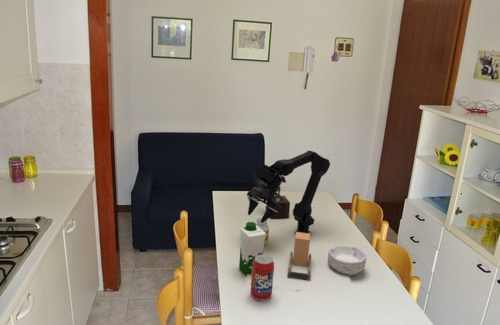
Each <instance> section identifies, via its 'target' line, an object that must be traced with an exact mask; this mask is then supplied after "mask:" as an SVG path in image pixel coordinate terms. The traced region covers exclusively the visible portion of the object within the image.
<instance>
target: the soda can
mask: <svg viewBox="0 0 500 325" xmlns="http://www.w3.org/2000/svg"><path fill="white" fill-rule="evenodd" d="M274 273H275V261H274V258H273V257H272V256H270V255H268V254H263V255H257V256H256V257H255V259H254V260H253V263H252V274H251V277H250V278H251V279H250V280H251V281H250V295H251V297H253V298H254V299H256V300H259V301H261V300H262V301H264V300H265V301H266V300H268V299H270V298H271V297H272V295H273V285H274Z"/></svg>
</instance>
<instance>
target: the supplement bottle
mask: <svg viewBox="0 0 500 325" xmlns="http://www.w3.org/2000/svg"><path fill="white" fill-rule="evenodd" d="M261 219H262V217H260V218H259V217H258V218H257V219H256V226H258V227H259V228H260V229H262V230H263V231H264V232H265V233H266V237H265V240H264V247H266V246H268V244H269V234H270V233H269V232H270V226H269V225H268V219H267V220H266V221H264V222H263V223H261Z"/></svg>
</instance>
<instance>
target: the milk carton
mask: <svg viewBox="0 0 500 325" xmlns="http://www.w3.org/2000/svg"><path fill="white" fill-rule="evenodd" d="M256 224H257V222H253V221H249V222H248V221H247V222H246V223H245V227H242V228H241V227H240V249H239V260H238V261H239V262H238V263H239V265H238V269H239V270H240V272H241V273H243V275H244V276H245V277H248V275H252V263H253V260H254V259H255V257H256V256H257V255H264V247H265V246H264V240H265V237H266V233H265V232H264V231H263V230H262V229H260V228H259V227H258V226H256Z"/></svg>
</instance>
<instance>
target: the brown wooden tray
mask: <svg viewBox="0 0 500 325" xmlns="http://www.w3.org/2000/svg"><path fill="white" fill-rule="evenodd" d="M293 254H294V251H290V254H289V263H288V268H287V275H286V276H287V278H288V279H295V280H301V281H303V280H304V281H309V282H310V281H311V276H312V274H311V269H312V253H308V262H307V273H304V272H297V271H291V270H292V265H293Z"/></svg>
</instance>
